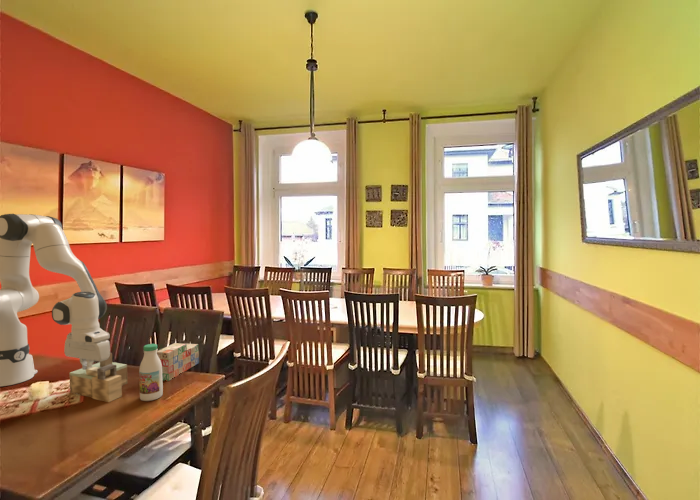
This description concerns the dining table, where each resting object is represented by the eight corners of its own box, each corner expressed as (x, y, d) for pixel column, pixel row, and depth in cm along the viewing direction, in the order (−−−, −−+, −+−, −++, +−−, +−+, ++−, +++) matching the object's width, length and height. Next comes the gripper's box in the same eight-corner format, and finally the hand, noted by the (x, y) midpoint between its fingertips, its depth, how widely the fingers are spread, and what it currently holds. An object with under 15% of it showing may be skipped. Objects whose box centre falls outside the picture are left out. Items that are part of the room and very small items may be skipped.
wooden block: (86, 374, 140) (85, 369, 140) (93, 371, 143) (93, 366, 143) (103, 377, 137) (103, 372, 137) (110, 374, 140) (110, 369, 140)
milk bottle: (146, 392, 143) (145, 342, 142) (166, 392, 143) (165, 342, 142) (135, 401, 136) (134, 348, 135) (156, 401, 136) (155, 348, 135)
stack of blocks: (187, 362, 176) (187, 337, 176) (199, 363, 175) (198, 337, 175) (155, 379, 156) (155, 351, 155) (168, 381, 154) (168, 352, 154)
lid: (69, 375, 142) (69, 359, 142) (104, 363, 155) (103, 349, 155) (93, 379, 138) (93, 364, 138) (127, 366, 151) (126, 352, 151)
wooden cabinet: (68, 393, 142) (67, 363, 141) (104, 379, 156) (103, 351, 155) (108, 402, 135) (108, 370, 134) (143, 386, 149) (142, 357, 148)
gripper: (58, 334, 142) (60, 369, 142) (96, 339, 135) (98, 375, 136) (75, 329, 147) (76, 363, 148) (112, 334, 141) (113, 369, 142)
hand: (87, 369), depth 142 cm, fingers closed
